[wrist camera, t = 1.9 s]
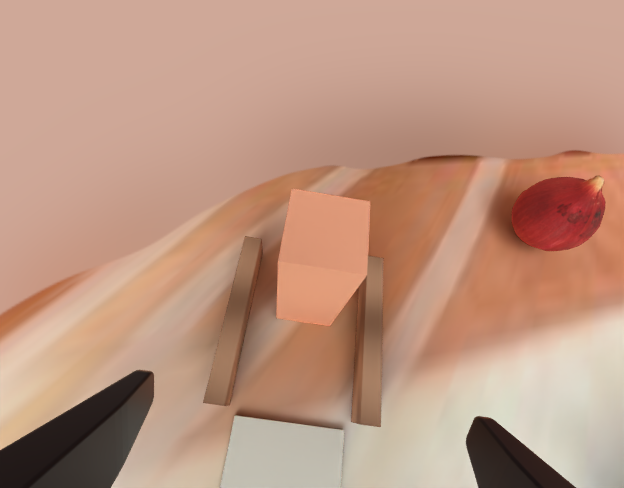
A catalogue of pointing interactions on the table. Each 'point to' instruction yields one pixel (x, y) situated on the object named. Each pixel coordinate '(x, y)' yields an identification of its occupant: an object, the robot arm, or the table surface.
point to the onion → (559, 212)
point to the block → (321, 256)
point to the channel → (366, 346)
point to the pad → (282, 455)
